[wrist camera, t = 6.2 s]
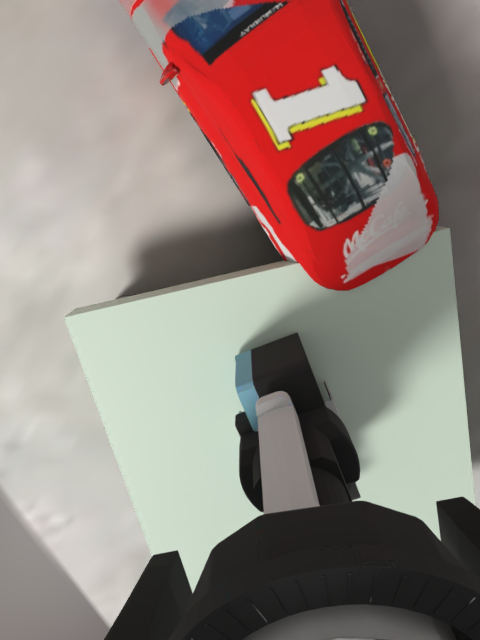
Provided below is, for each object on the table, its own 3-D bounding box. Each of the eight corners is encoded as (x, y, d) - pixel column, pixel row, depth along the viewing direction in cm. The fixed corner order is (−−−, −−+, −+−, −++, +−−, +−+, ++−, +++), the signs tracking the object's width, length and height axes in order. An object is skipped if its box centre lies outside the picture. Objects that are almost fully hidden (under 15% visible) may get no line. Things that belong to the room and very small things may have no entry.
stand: (443, 493, 19) (479, 547, 16) (179, 543, 20) (169, 603, 17) (411, 220, 16) (449, 228, 13) (94, 294, 17) (63, 317, 14)
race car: (77, -61, 13) (9, -162, 9) (232, -188, 12) (230, -358, 8) (298, 304, 16) (317, 342, 13) (431, 225, 16) (494, 241, 12)
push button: (396, 473, 15) (654, 954, 6) (255, 519, 16) (275, 1023, 6) (337, 303, 13) (567, 589, 4) (179, 363, 14) (49, 736, 5)
